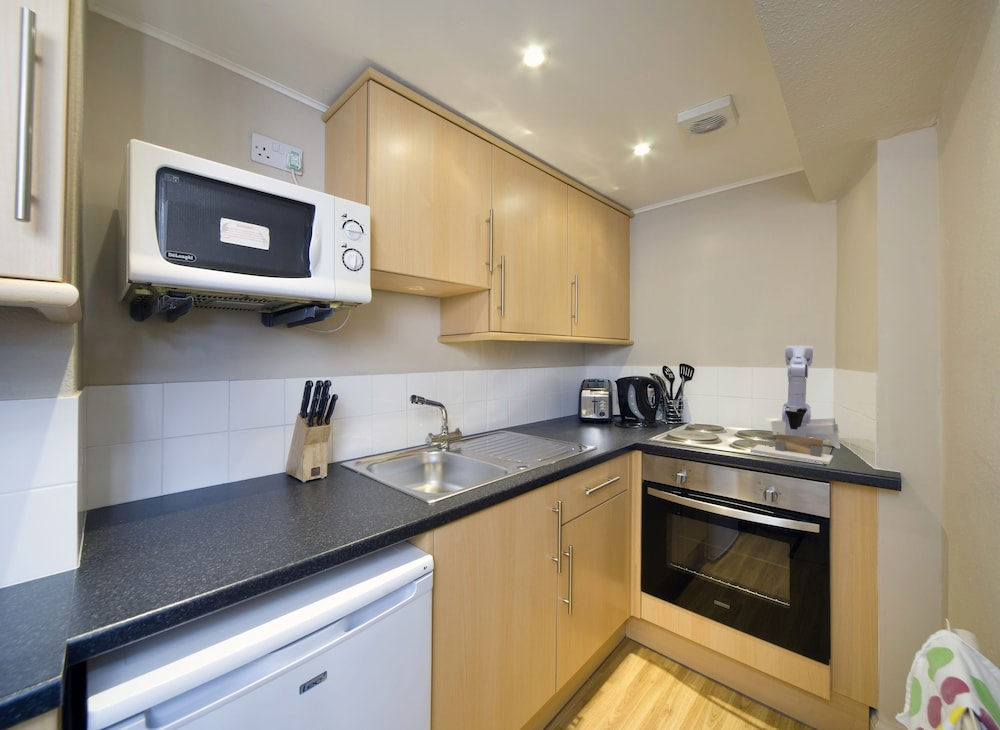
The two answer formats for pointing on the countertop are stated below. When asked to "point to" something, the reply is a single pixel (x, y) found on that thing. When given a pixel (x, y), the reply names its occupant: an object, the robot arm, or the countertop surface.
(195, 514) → the countertop surface
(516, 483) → the countertop surface
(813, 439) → the door panel
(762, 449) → the board
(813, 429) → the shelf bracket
